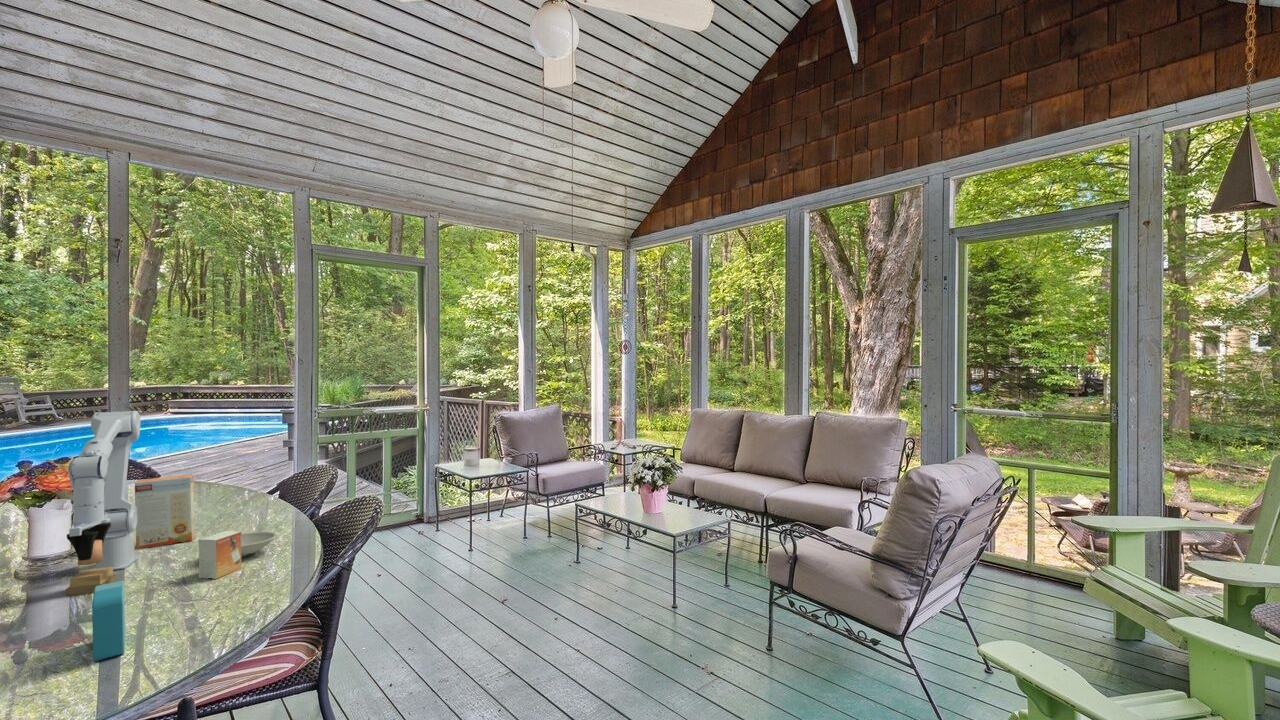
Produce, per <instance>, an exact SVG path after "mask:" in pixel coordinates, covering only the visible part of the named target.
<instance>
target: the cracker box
mask: <svg viewBox="0 0 1280 720" xmlns="http://www.w3.org/2000/svg"><path fill="white" fill-rule="evenodd" d="M194 495H195V494H194V475H193V474H186V475H184V474H183V475H173V476H163V477H153V478H145V479H138V480H137V481H136V482H134V504H135V506H136V508H137V525H136V528H135V543H136V544H135V545H136V546H135V547H136V550H137V549H138V550H139V549H140V550H141V549H147V548H151V547H152V548H153V546H154V547H159V545H160V546H166V545H165V544H167V545H172V544H171V543H174V544H177V543H176V542H181V543H185V542H184V541H189V542H193V539H194V538H195V537H196V535H195V534H196V532H195V531H196V530H195V507H194V506H195V501H194V498H195V497H194ZM194 536H195V537H194Z"/></svg>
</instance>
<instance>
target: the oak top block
mask: <svg viewBox="0 0 1280 720" xmlns="http://www.w3.org/2000/svg"><path fill="white" fill-rule="evenodd" d="M113 575H114V570H113V567H107V568H98V569H93V568H90V569H84V570H81V571H80V572H79V573H77V574H74V575H73V576H71V577H70V578H69V587H70V588H74V587H82V586H91V585H99V584H102V583H103V582H105V581H106V580H108V579H109V578H111V577H112V576H113Z"/></svg>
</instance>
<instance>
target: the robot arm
mask: <svg viewBox="0 0 1280 720" xmlns="http://www.w3.org/2000/svg"><path fill="white" fill-rule="evenodd" d="M90 419H91V420H90V427H91V432H93V434H94V435H93V436H94V437H93V439H90V440H87V442H85V444H84V445H83V447H82V449H81V452H80V453H79V455H78V457H75V458H74V459H71V460H70V461H69V463H68V468H67V473H68V479H69V481H70V483H69V484H70V488H72V492H73V493H72V494H73V495H72V500H73V502H72V505H73V511H72V512H73V522H72V524H71V527H70V528H69V529H68V530H69V532H68V534H66V539H67V540H68V541H69V542H70V544H71V545H72V547H73V548H74V551H75V553H76V556H77V560H78V559H79V561H82V560H89V559H91V556H92V551H93V544H94V541H95V540H102V561H100V562H98V563H95V567H93V568H92V569H98V568H107V567H113V571H115V570H116V571H117V570H123V569H126V568H128V567H129V566H130V565H131V564H133V563H135V562H136V561H137V560H138V559H139V557H140V556H136V555H135V537H134V534H133V533H132V532H134V531H135V530H136V525H137V508H136V506H135V503H133V502H131V501H129V500H127V499H126V493H127V492H126V490H127V478H128V467H129V457H130V450H131V446H132V443H134V442H136V441H138V440H139V437H140V433H141V415H140V412H139V411H137V410H131V411H129V410H128V411H110V412H109V411H108V412H107V411H105V412H99V411H97V412H95V413H94V414H92V416H91V418H90Z"/></svg>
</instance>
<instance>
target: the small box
mask: <svg viewBox="0 0 1280 720" xmlns="http://www.w3.org/2000/svg"><path fill="white" fill-rule="evenodd" d="M241 534H242V532H241V531H234V530H233V531H232V530H224V531H221V532H218V533H215V534H213V535H212V534H211V535H209V536H207V537H203V538H200V539H198V578H199V579H208V578H212V579H211V580H217V579H219V578H222V577H224V576H227V575H229V574H232V573H234V572H237V571H240V570H242V557H241Z"/></svg>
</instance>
